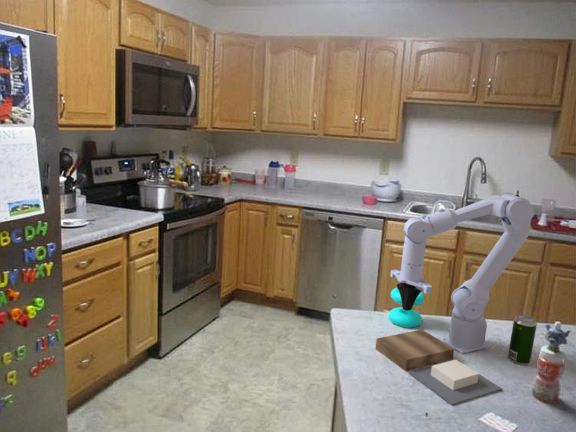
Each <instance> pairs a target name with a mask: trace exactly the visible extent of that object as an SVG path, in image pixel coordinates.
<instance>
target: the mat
mask: <svg viewBox="0 0 576 432" xmlns="http://www.w3.org/2000/svg"><path fill="white" fill-rule="evenodd" d="M432 366H433V365H428V366H424V367H420V368H416V369H412V370H408V374H409V375H410V376H411V377H413V378H414V379H416V380H417V381H418V382H419V383H420V384H422V385H424V386H425V387H426V388H427V389H429V390H430V391H432V393H434V394H436V396H439V398H441V399H443V401H445V402H447V403H448V404H449V405H450V406H454V405H455V406H456V405H458V404H461V403H465V402H467V401H468V402H469V401H471V400H474V399H477V398H481V397H484V396H487V395H491V394H493V393H496V392H497V393H498V392H500V391H502V390H503V388H502V387H500V386H499V385H498V384H496V383H494V382H493V381H491V380H489V379H488V378H486V377H485V376H484V375H483V376H482V375H481V374H479V373H478V374H479V375H478V381H477V383H475V384H472V385H469V386H465V387H462V388H459V389H456V390H452V389H450V388H449V387H447V386H446V385H445V384H443V383H442V382H440V381H439V380H437V379H436V378H434V377H433V376H431V369H432Z"/></svg>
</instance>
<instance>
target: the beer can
mask: <svg viewBox="0 0 576 432" xmlns="http://www.w3.org/2000/svg"><path fill="white" fill-rule="evenodd" d="M514 317H515V318H514V319H513V322H512V330H511V334H510V335H511V336H510V340H509V341H510V342H509V345H508V346H509V347H508V354H507V357H508V360H509V361H510V362H511V363H513V364H515V365H518V366H528V365H529V364H530V363H531V361H532V360H531V359H532V354H533V348H534V342H535V337H536V332H537V319H536V318H535V317H533V316H530V315H527V314H516V315H515V316H514Z"/></svg>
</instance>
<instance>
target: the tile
mask: <svg viewBox="0 0 576 432" xmlns="http://www.w3.org/2000/svg"><path fill="white" fill-rule="evenodd" d="M431 366H432V369H431V376H433V377H434V378H436V379H437V380H439V381H440V382H442V383H443V384H445V385H446V386H447V387H449V388H450V389H452V390H456V389H459V388H462V387H465V386H469V385H472V384H475V383H477V381H478V375H479V373H478V372H477V371H475V370H473V369H471V367H469V366H467V365H466V364H464V363H462V362H461V361H459V360H457V359H452V360H448V361H444V362H440V363H436V364H432V365H431Z"/></svg>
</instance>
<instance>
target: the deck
mask: <svg viewBox="0 0 576 432" xmlns="http://www.w3.org/2000/svg"><path fill="white" fill-rule="evenodd" d="M375 341H376V342H375V349H376V351H378V352H379V353H381V354H382V355H383V356H384V357H386V358H387V359H389V361H392V363H394V364H395V365H397V366H398V367H399V368H401V369H402V370H404V371H405V372H407V371H408V372H409V371H413V370H417V369H421V368H425V367H429V366H433V365H437V364H441V363H445V362H448V361H452V360H454V355H455V349H454V348H452V347H451V346H449V345H447V344H446V343H444V342H442V341H441V340H440V339H439V338H437V337H435V336H434V335H433V334H431V333H429V332H427V331H425V330H424V329H419V330H418V329H417V330H414V331H413V330H412V331H408V332H404V333H403V332H402V333H399V334H398V333H397V334H393V335H387V336H382V337H378V338H376V340H375Z"/></svg>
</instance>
